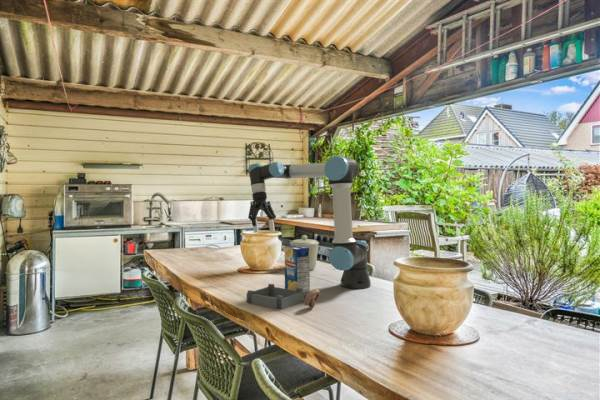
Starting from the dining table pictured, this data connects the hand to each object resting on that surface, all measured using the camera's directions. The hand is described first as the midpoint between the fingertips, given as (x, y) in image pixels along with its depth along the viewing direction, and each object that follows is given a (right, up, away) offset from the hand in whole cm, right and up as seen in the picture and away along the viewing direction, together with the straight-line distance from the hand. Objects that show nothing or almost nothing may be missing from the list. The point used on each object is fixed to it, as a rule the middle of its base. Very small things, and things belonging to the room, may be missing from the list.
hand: (264, 231), depth 217 cm
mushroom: (+24, -28, -49) cm, 61 cm away
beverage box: (+17, -27, -25) cm, 41 cm away
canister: (+21, -26, +35) cm, 49 cm away
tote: (+8, -27, -38) cm, 47 cm away
